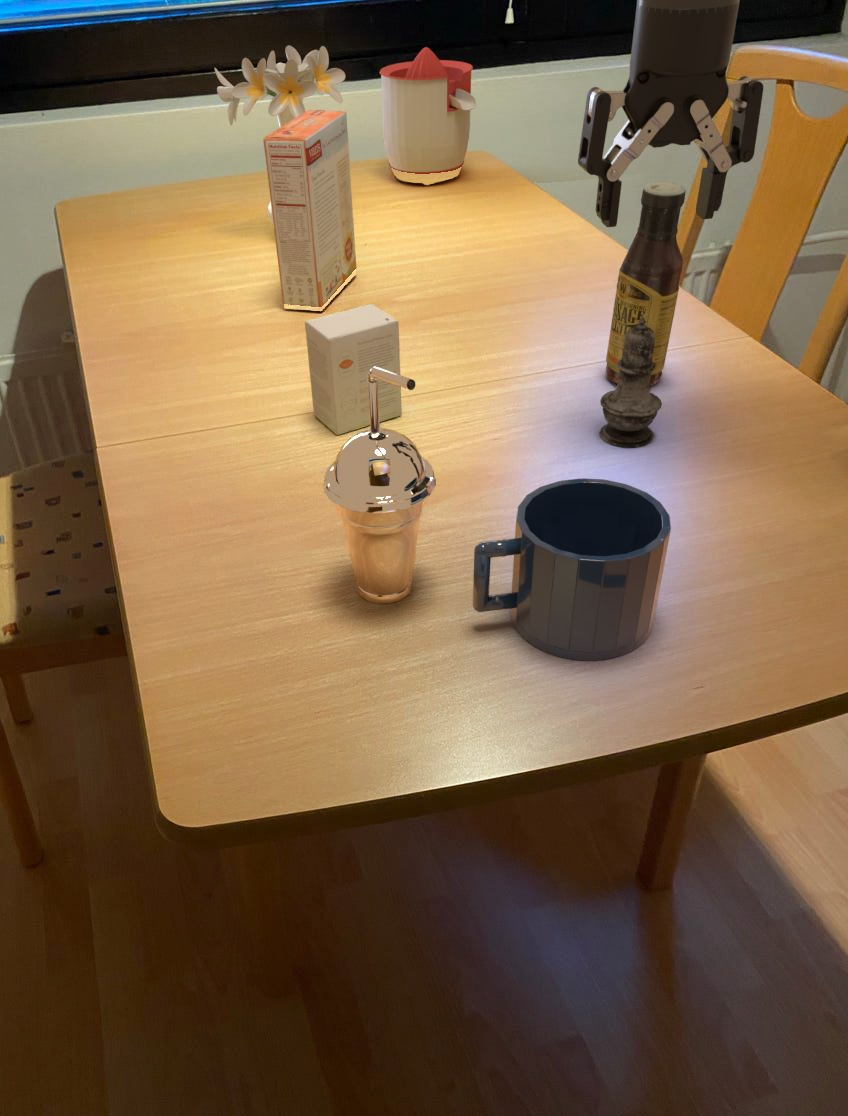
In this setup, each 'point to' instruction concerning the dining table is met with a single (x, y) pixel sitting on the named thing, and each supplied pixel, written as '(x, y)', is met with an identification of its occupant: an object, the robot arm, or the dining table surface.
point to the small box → (352, 366)
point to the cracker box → (311, 205)
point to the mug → (581, 568)
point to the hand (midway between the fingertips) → (656, 220)
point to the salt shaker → (632, 393)
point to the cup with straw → (380, 500)
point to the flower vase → (282, 86)
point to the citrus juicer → (426, 113)
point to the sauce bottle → (649, 277)
